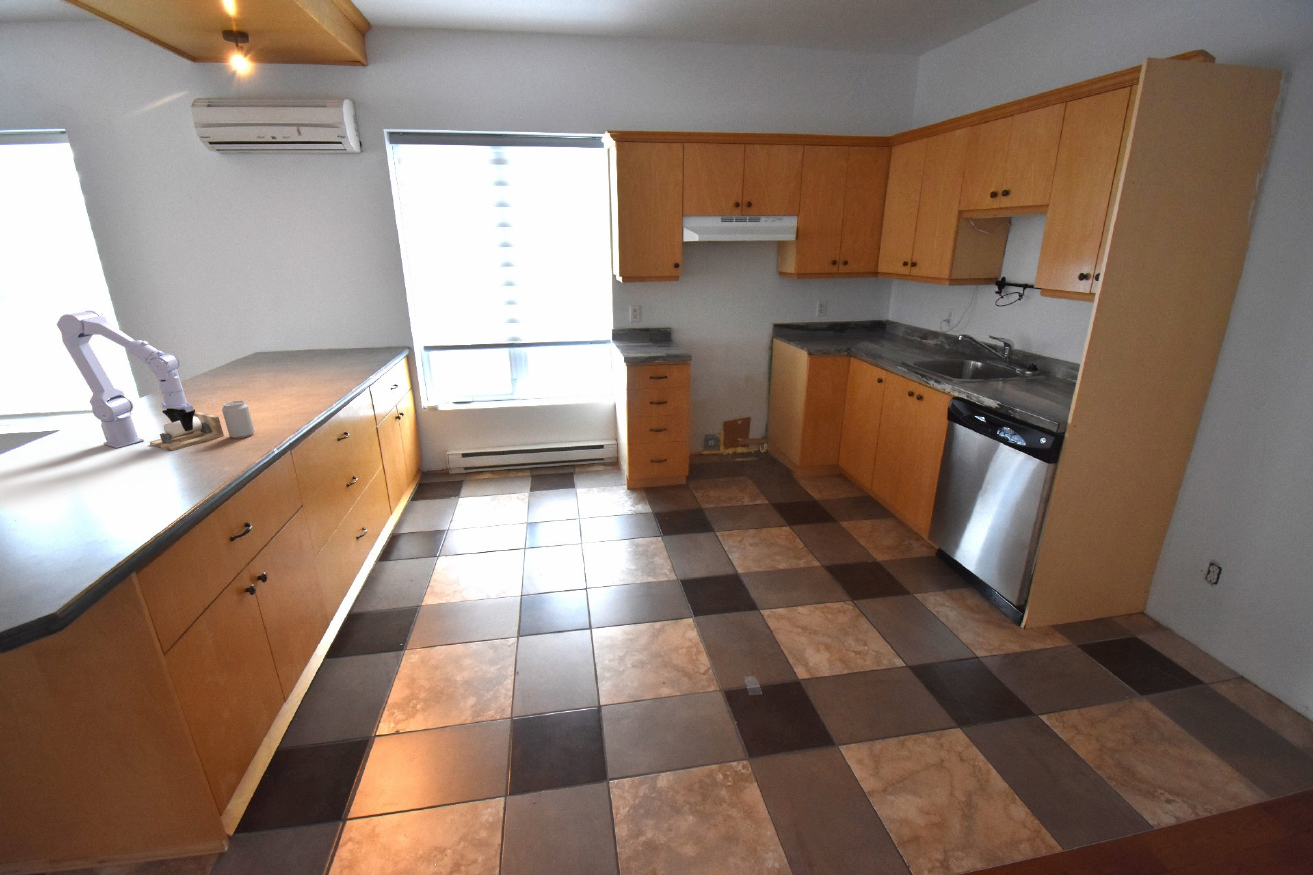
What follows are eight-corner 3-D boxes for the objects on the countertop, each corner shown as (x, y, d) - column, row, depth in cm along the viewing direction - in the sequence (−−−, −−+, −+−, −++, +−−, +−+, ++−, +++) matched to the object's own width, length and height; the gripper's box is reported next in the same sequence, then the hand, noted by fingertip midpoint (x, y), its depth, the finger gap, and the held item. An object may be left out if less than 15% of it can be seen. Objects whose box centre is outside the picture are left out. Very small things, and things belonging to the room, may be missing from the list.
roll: (166, 436, 201) (162, 423, 199) (195, 428, 208) (191, 415, 207) (174, 438, 199) (170, 425, 197) (203, 430, 206) (199, 417, 205)
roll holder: (150, 444, 201) (143, 425, 199) (202, 430, 214) (196, 411, 212) (171, 450, 195) (165, 430, 192) (224, 435, 208) (218, 416, 206)
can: (242, 439, 204) (233, 406, 199) (224, 438, 205) (214, 405, 201) (260, 432, 210) (251, 400, 206) (242, 431, 212) (233, 399, 208)
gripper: (146, 391, 198) (159, 430, 203) (171, 396, 192) (183, 435, 197) (170, 386, 204) (181, 424, 209) (195, 390, 198) (206, 429, 203)
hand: (184, 429), depth 203 cm, fingers closed on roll, 5 cm apart
